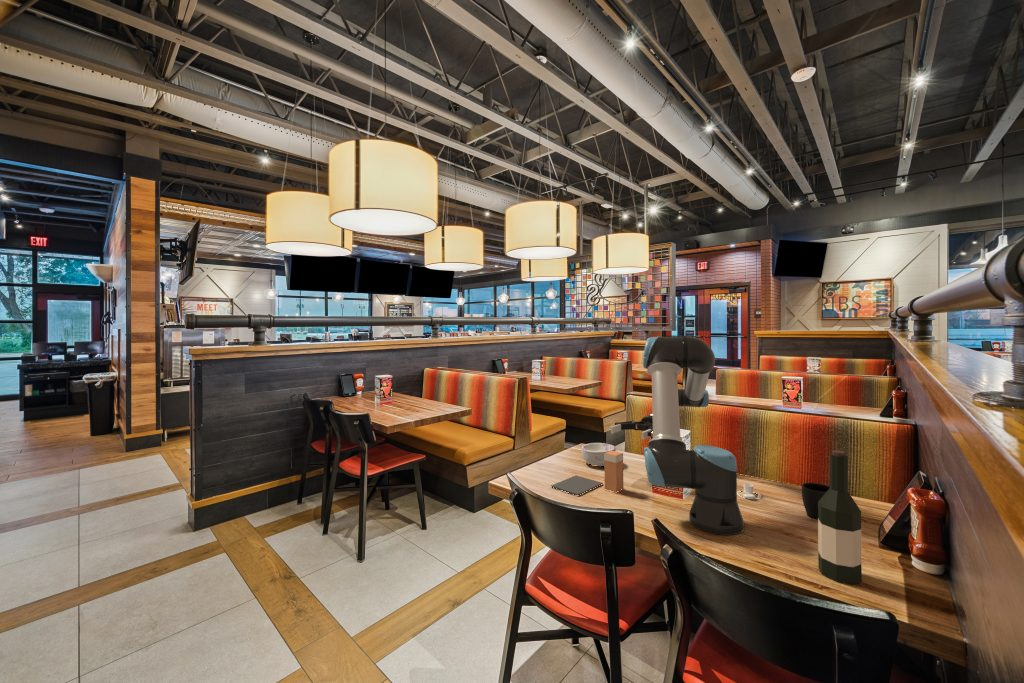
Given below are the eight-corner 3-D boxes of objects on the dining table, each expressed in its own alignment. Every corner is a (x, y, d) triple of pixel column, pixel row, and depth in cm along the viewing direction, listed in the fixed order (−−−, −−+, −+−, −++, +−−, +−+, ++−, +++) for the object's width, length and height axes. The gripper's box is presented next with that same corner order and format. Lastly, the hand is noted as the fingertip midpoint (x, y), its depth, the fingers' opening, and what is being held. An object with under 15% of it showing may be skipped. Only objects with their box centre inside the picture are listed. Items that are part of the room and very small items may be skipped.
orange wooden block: (623, 489, 159) (623, 453, 159) (616, 493, 156) (615, 455, 155) (612, 486, 163) (611, 450, 162) (604, 490, 159) (604, 453, 159)
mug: (841, 530, 124) (841, 498, 124) (796, 515, 134) (796, 485, 134) (853, 523, 128) (853, 492, 128) (809, 509, 139) (809, 480, 138)
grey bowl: (575, 461, 194) (574, 444, 194) (602, 457, 200) (602, 440, 200) (594, 471, 180) (593, 453, 180) (623, 466, 186) (622, 448, 186)
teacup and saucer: (754, 503, 145) (754, 491, 145) (731, 496, 152) (730, 485, 152) (765, 496, 151) (765, 485, 151) (742, 490, 157) (742, 479, 157)
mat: (602, 484, 165) (602, 482, 165) (578, 496, 153) (578, 494, 153) (576, 477, 174) (576, 475, 174) (550, 487, 163) (550, 485, 163)
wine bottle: (858, 589, 96) (858, 459, 95) (814, 574, 102) (813, 452, 101) (864, 574, 102) (863, 451, 101) (821, 561, 108) (821, 445, 107)
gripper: (681, 437, 171) (656, 448, 157) (626, 427, 189) (599, 437, 174) (681, 418, 171) (656, 428, 156) (626, 411, 189) (599, 419, 174)
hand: (626, 433), depth 165 cm, fingers open, 13 cm apart
